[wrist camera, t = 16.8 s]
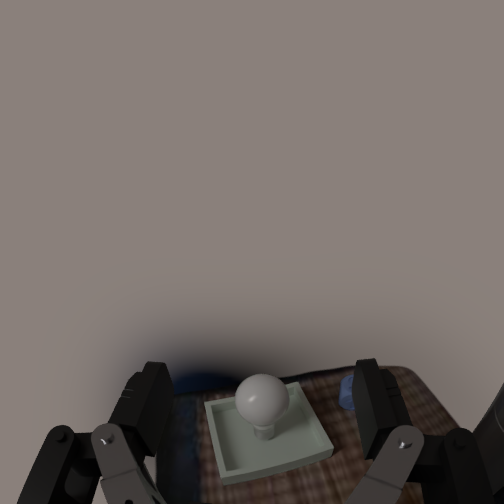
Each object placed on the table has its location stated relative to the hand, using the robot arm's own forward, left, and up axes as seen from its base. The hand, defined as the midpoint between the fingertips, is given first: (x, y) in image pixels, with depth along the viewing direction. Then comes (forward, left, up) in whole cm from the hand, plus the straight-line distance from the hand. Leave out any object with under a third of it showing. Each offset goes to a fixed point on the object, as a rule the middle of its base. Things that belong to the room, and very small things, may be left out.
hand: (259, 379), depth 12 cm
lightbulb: (-3, -14, -27) cm, 31 cm away
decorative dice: (-17, -16, -28) cm, 36 cm away
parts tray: (-3, -15, -27) cm, 31 cm away
